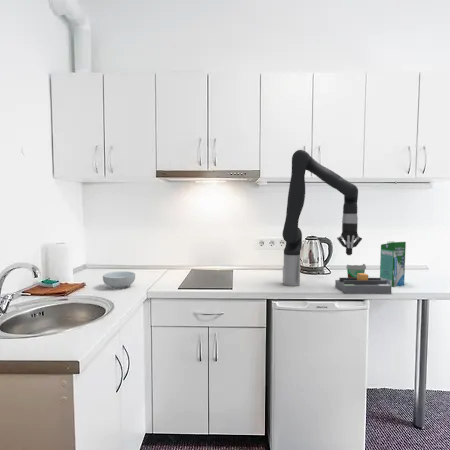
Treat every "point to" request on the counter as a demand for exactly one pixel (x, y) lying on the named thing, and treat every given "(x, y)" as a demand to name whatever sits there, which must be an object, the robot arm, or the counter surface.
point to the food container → (355, 270)
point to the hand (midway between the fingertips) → (349, 255)
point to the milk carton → (393, 263)
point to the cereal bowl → (119, 279)
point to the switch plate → (363, 286)
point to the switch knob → (362, 276)
